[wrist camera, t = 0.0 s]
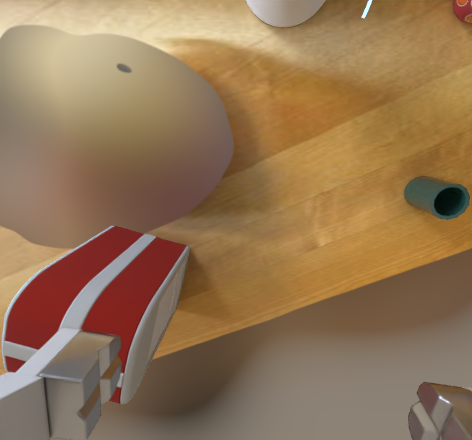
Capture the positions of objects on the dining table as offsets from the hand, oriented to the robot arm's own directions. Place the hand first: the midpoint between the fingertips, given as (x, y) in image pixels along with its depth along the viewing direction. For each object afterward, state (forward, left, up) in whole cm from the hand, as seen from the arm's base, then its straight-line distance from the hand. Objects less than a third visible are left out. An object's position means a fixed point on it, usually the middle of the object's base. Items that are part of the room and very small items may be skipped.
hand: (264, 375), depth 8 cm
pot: (0, +30, -48) cm, 57 cm away
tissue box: (+24, -22, -48) cm, 58 cm away
